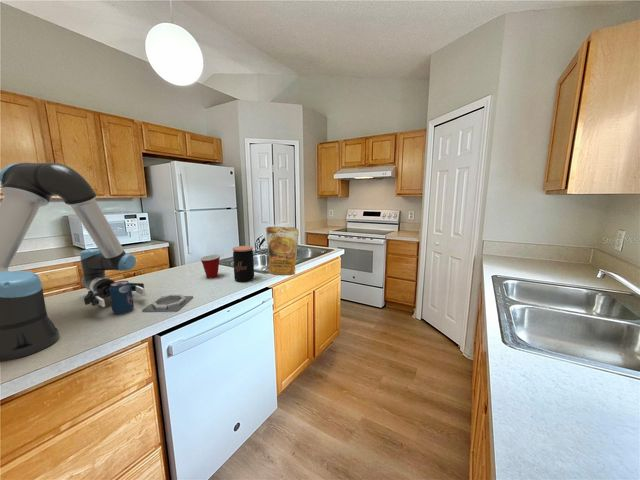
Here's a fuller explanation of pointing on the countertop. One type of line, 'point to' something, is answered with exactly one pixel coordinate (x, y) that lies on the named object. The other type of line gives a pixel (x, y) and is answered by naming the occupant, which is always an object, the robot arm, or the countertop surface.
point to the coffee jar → (243, 263)
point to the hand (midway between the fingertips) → (124, 297)
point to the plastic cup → (211, 265)
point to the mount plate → (168, 303)
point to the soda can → (121, 297)
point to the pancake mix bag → (282, 249)
